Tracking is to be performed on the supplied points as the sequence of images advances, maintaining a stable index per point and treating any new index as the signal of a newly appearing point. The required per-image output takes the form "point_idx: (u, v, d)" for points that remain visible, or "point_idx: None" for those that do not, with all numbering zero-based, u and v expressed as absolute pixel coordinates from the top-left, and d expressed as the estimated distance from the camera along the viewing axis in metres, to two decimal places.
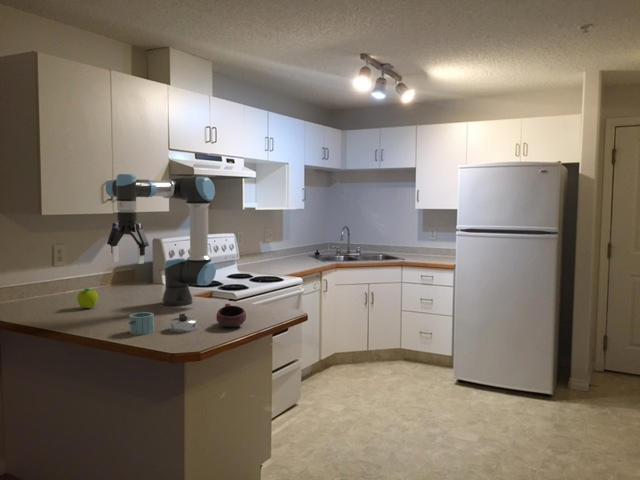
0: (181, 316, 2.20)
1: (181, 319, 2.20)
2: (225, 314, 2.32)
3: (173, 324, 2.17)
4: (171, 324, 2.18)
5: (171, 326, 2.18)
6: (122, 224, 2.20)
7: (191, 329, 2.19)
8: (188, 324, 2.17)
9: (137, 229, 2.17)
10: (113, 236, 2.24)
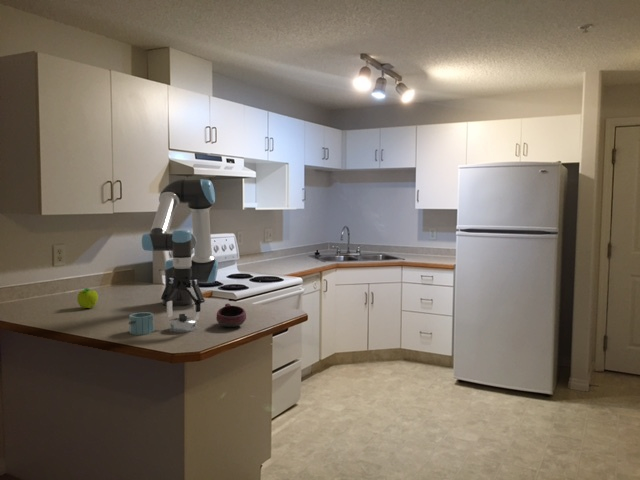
0: (181, 316, 2.20)
1: (181, 319, 2.20)
2: (225, 314, 2.32)
3: (173, 324, 2.17)
4: (171, 324, 2.18)
5: (171, 326, 2.18)
6: (177, 280, 2.20)
7: (191, 329, 2.19)
8: (188, 324, 2.17)
9: (193, 285, 2.17)
10: (167, 291, 2.23)
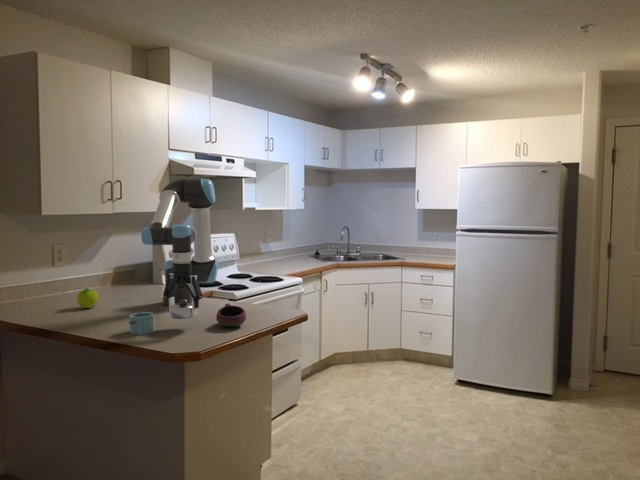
0: (181, 301, 2.20)
1: (181, 304, 2.20)
2: (225, 314, 2.32)
3: (173, 309, 2.17)
4: (171, 309, 2.18)
5: (171, 311, 2.18)
6: (177, 274, 2.20)
7: (191, 314, 2.19)
8: (188, 309, 2.17)
9: (193, 281, 2.17)
10: (169, 287, 2.23)
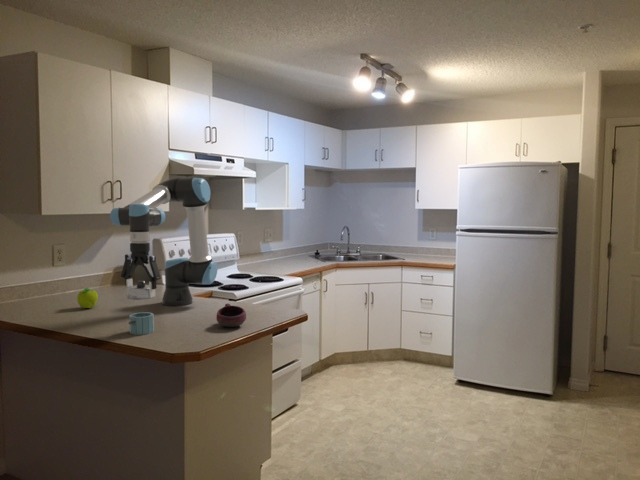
0: (138, 282, 2.15)
1: (138, 286, 2.15)
2: (225, 314, 2.32)
3: (130, 290, 2.12)
4: (128, 290, 2.13)
5: (128, 292, 2.13)
6: (135, 254, 2.15)
7: (148, 296, 2.13)
8: (145, 290, 2.12)
9: (150, 261, 2.12)
10: (126, 268, 2.18)
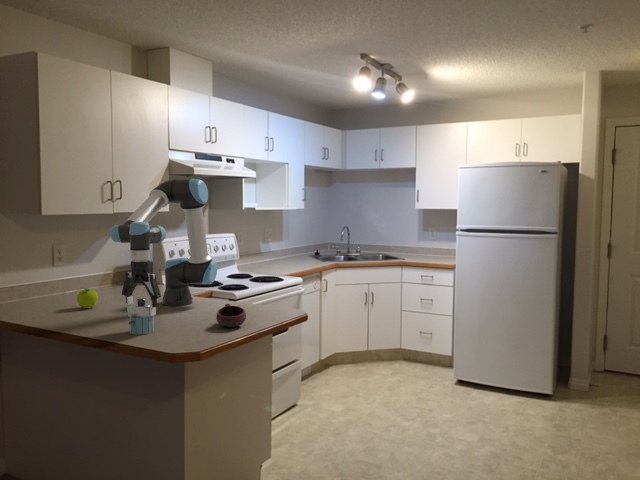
0: (139, 300, 2.15)
1: (139, 304, 2.16)
2: (225, 314, 2.32)
3: (130, 308, 2.12)
4: (128, 309, 2.13)
5: (128, 311, 2.13)
6: (135, 272, 2.15)
7: (149, 314, 2.14)
8: (146, 308, 2.13)
9: (151, 280, 2.13)
10: (127, 286, 2.19)
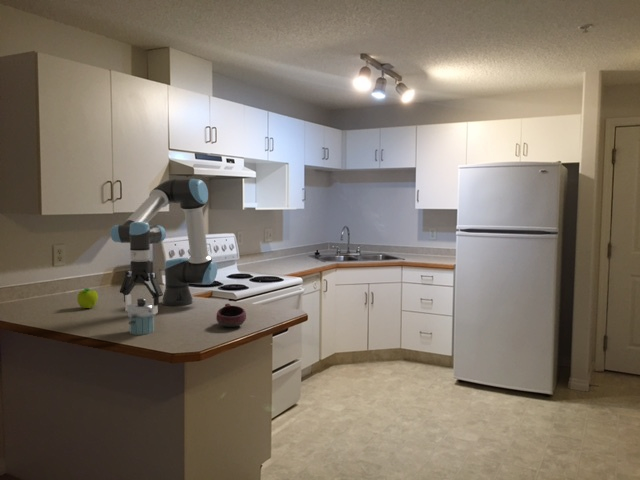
0: (139, 300, 2.15)
1: (139, 304, 2.16)
2: (225, 314, 2.32)
3: (130, 308, 2.12)
4: (128, 309, 2.13)
5: (128, 311, 2.13)
6: (135, 273, 2.15)
7: (149, 314, 2.14)
8: (146, 308, 2.13)
9: (151, 279, 2.12)
10: (126, 284, 2.19)
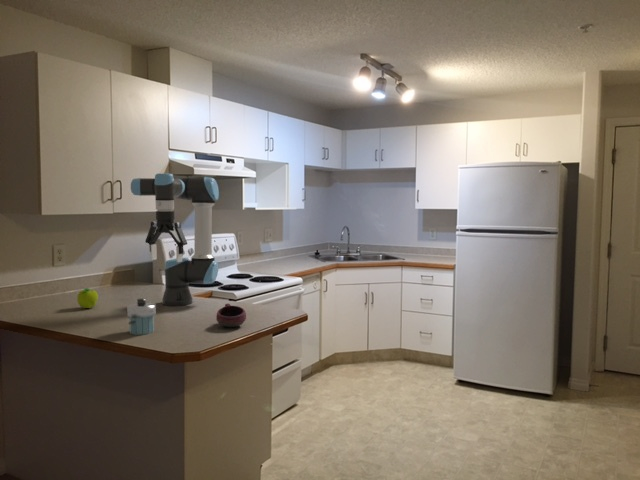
0: (139, 300, 2.15)
1: (139, 304, 2.16)
2: (225, 314, 2.32)
3: (130, 308, 2.12)
4: (128, 309, 2.13)
5: (128, 311, 2.13)
6: (160, 223, 2.23)
7: (149, 314, 2.14)
8: (146, 308, 2.13)
9: (176, 228, 2.20)
10: (151, 234, 2.27)
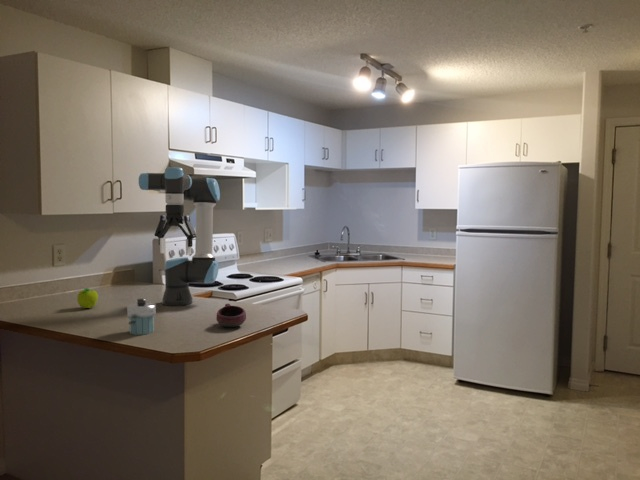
0: (139, 300, 2.15)
1: (139, 304, 2.16)
2: (225, 314, 2.32)
3: (130, 308, 2.12)
4: (128, 309, 2.13)
5: (128, 311, 2.13)
6: (170, 216, 2.26)
7: (149, 314, 2.14)
8: (146, 308, 2.13)
9: (185, 221, 2.23)
10: (160, 228, 2.30)
